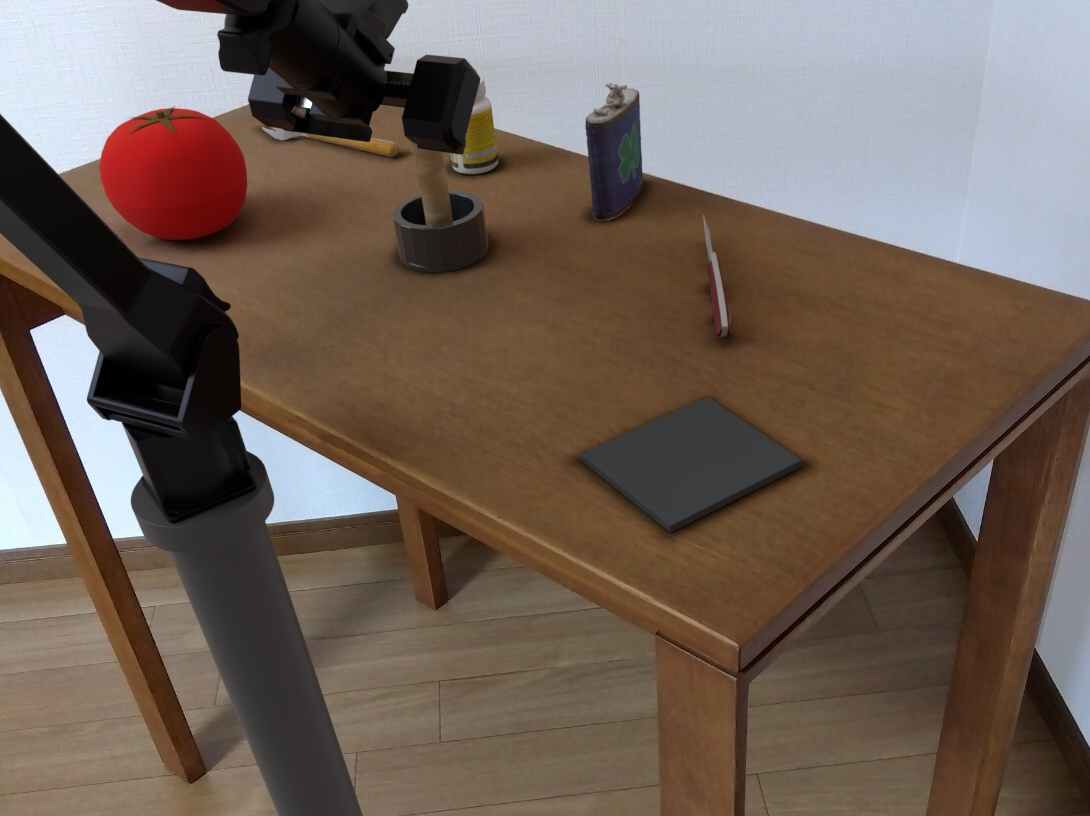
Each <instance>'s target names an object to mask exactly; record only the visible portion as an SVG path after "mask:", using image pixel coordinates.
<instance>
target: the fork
mask: <svg viewBox="0 0 1090 816" xmlns="http://www.w3.org/2000/svg"><path fill="white" fill-rule="evenodd" d="M261 130H263V131H264V132H265V133H266V134H268V135H270V136H271V137H272V138H274V139H276V140H279V141H286V140H289V139H291V138H292V139H293V138H296V137H297V138H298V137H301V136H303V137H306V138H311V139H314V140H317V141H318V140H319V141H322V142H327V143H331V144H335V145H339V146H344V147H348V148H352V149H356V150H359V151H365V152H367V153H368V152H369V153H373V154H377V155H379V156H385V157H389V158H394V157H396V156H397V154H398V152H399V147H398V145H397V144H396V142H393V141H391V140H387V139H381V138H375V137H371V139H370V142H363V141H356V140H349V139H342V138H334V137H326V136H319V135H312V134H305V133H298V132H291V131H285V130H283V129H280V128H273V127H270V128H266V127H264V126H261Z"/></svg>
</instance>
